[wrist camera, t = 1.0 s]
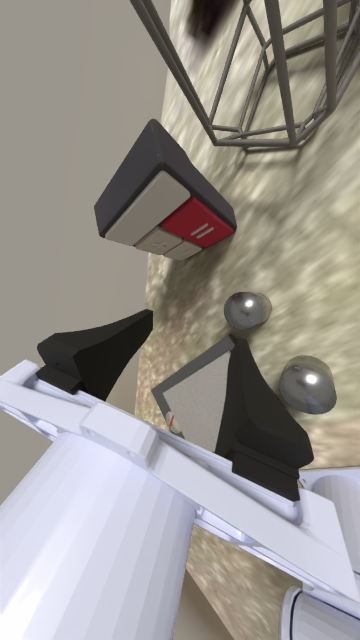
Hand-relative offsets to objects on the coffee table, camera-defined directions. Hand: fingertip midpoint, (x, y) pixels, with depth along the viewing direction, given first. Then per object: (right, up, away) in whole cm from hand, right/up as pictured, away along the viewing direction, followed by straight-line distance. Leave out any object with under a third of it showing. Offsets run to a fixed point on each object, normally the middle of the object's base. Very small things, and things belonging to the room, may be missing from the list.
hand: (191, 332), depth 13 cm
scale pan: (+4, -14, +14) cm, 20 cm away
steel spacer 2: (+15, -5, +6) cm, 17 cm away
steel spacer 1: (+9, +3, +9) cm, 14 cm away
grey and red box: (+3, +14, +13) cm, 20 cm away
